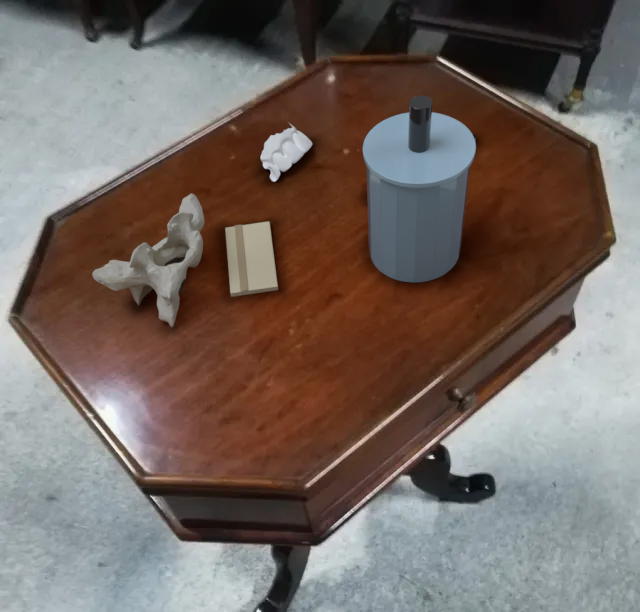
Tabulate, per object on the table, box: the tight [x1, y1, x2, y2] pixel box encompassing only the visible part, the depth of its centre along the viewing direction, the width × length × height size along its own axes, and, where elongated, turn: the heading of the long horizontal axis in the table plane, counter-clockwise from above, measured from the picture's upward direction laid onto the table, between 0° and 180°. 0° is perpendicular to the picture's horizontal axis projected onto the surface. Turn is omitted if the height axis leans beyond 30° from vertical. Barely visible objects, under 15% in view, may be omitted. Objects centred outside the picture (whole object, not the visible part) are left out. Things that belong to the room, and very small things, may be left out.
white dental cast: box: [260, 122, 313, 183], centre depth 88 cm, size 6×8×4 cm
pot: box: [366, 166, 471, 283], centre depth 74 cm, size 10×10×12 cm
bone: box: [91, 192, 206, 328], centre depth 77 cm, size 9×14×8 cm, turn 155°
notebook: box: [224, 221, 279, 298], centre depth 80 cm, size 5×10×1 cm, turn 7°
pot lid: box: [362, 95, 477, 188], centre depth 67 cm, size 10×10×6 cm
